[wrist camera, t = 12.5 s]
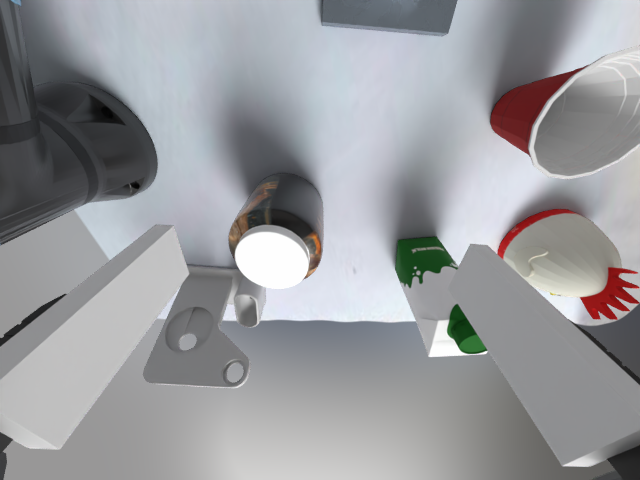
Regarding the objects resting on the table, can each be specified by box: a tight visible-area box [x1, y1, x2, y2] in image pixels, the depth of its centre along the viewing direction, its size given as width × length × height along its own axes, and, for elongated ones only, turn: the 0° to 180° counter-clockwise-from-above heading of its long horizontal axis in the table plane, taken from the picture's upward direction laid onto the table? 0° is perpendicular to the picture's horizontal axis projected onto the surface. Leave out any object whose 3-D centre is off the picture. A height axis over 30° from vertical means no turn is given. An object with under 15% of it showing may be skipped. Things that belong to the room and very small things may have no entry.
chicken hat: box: [498, 209, 639, 320], centre depth 36 cm, size 14×14×15 cm
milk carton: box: [395, 237, 488, 357], centre depth 35 cm, size 9×9×20 cm
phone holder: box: [143, 265, 266, 388], centre depth 41 cm, size 17×10×18 cm, turn 84°
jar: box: [229, 173, 324, 289], centre depth 32 cm, size 12×12×15 cm
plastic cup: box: [490, 45, 640, 179], centre depth 25 cm, size 11×11×12 cm
